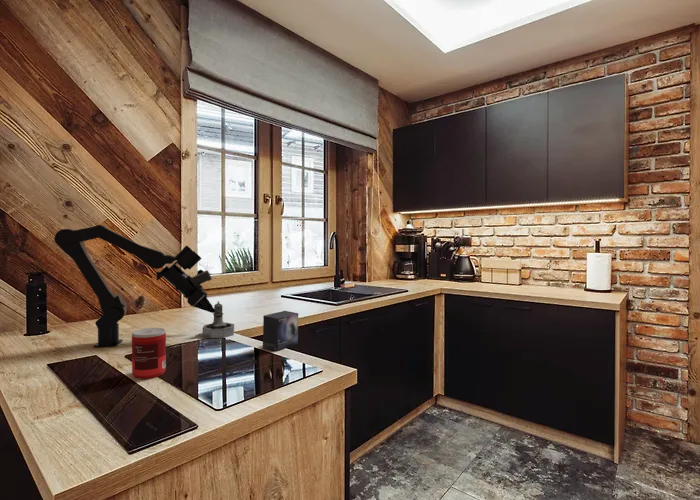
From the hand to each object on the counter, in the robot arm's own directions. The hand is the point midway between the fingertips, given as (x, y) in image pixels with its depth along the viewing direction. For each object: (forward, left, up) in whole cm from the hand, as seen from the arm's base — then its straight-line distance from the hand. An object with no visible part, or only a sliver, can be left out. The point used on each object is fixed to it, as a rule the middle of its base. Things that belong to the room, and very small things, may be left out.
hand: (212, 309), depth 136 cm
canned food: (-38, +11, -9) cm, 40 cm away
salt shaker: (0, -2, -9) cm, 9 cm away
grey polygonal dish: (0, -2, -9) cm, 9 cm away
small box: (-19, -23, -9) cm, 31 cm away
